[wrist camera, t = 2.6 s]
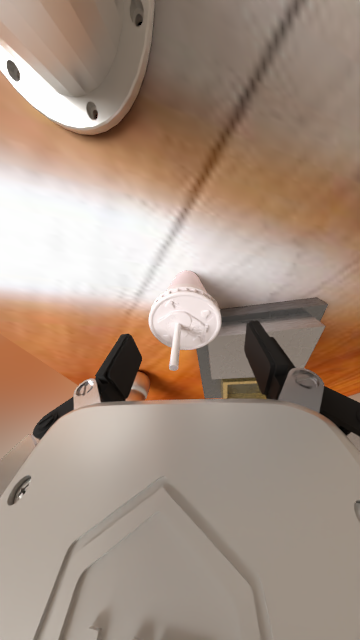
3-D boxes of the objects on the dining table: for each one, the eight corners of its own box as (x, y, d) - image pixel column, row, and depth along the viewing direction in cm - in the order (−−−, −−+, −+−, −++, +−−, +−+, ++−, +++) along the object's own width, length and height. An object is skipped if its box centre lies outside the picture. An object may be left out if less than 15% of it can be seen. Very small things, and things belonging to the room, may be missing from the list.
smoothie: (166, 256, 18) (126, 320, 7) (215, 264, 18) (256, 338, 7) (162, 300, 22) (133, 389, 10) (203, 306, 22) (218, 400, 11)
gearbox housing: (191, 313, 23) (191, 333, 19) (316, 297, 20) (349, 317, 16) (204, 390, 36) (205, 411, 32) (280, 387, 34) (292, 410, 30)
